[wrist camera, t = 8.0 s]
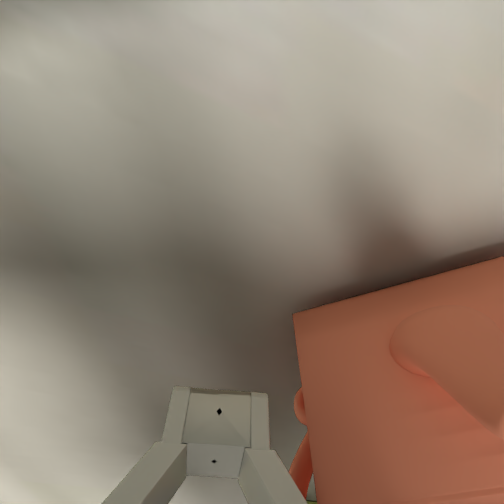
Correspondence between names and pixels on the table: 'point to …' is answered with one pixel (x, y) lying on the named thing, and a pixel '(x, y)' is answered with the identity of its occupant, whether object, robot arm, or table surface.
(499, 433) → the teapot
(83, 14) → the table surface
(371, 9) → the table surface
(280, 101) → the table surface
